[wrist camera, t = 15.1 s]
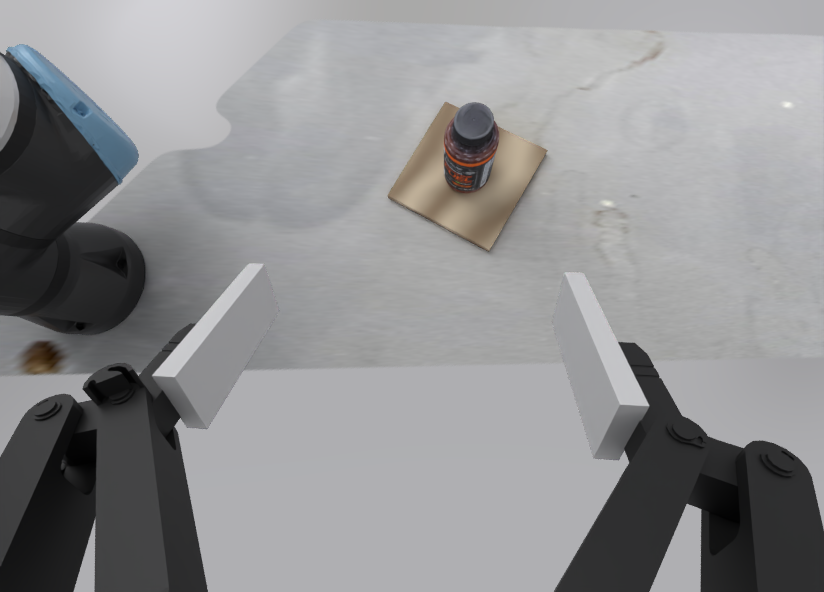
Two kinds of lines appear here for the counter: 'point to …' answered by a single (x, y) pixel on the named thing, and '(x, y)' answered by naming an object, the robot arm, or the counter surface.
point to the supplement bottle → (470, 148)
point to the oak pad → (466, 212)
